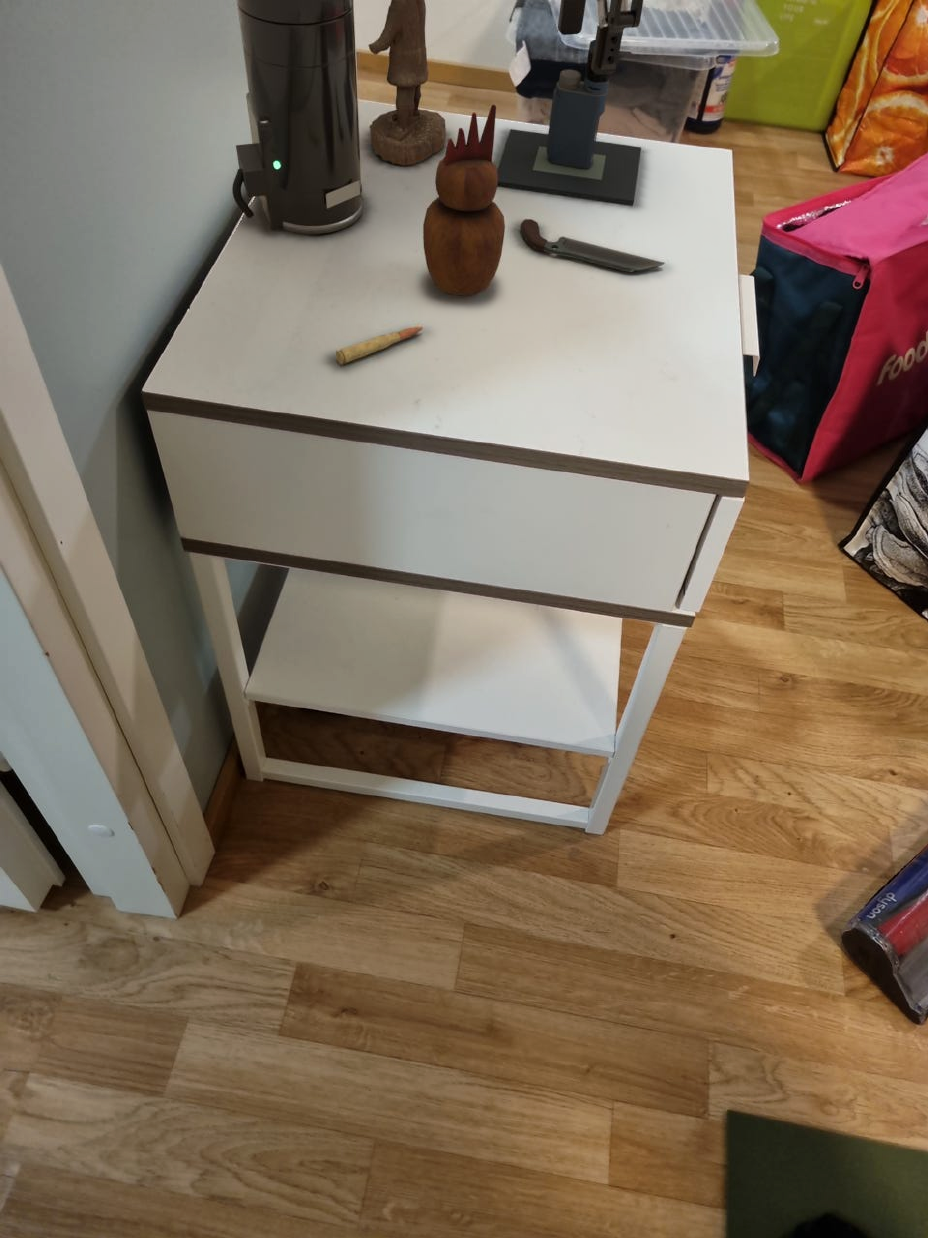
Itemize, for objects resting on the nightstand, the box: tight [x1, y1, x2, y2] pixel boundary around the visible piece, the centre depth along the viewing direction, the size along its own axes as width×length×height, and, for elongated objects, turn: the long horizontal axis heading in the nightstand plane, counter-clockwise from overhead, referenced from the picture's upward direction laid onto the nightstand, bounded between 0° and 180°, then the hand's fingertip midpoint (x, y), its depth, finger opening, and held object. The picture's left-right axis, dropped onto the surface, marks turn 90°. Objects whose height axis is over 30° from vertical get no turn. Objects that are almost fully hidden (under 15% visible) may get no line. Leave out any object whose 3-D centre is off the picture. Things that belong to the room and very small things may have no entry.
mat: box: [496, 128, 642, 206], centre depth 93 cm, size 14×11×1 cm
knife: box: [520, 218, 665, 273], centre depth 84 cm, size 14×4×1 cm, turn 69°
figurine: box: [368, 0, 447, 166], centre depth 86 cm, size 9×8×20 cm
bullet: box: [335, 326, 424, 365], centre depth 74 cm, size 8×1×1 cm
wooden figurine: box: [422, 104, 506, 296], centre depth 74 cm, size 7×6×15 cm
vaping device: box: [546, 39, 611, 169], centre depth 88 cm, size 3×5×12 cm, turn 75°
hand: (585, 52), depth 84 cm, fingers open, 8 cm apart
